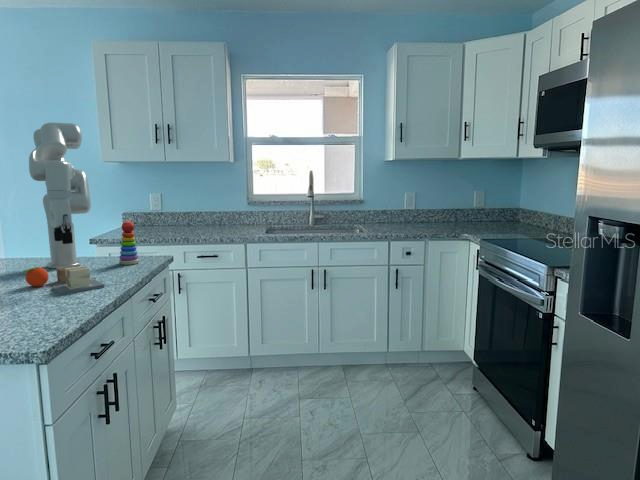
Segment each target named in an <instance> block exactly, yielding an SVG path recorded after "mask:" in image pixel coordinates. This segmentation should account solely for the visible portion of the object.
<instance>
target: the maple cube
mask: <svg viewBox="0 0 640 480" xmlns="http://www.w3.org/2000/svg"><path fill="white" fill-rule="evenodd" d="M65 275H66V283H65V284H66V285H67V286H69V287H70V288H77V287H83V286H89V285H90V280H91V278H90V275H91V274H90V268H89V267H87V266H85V265H79V266H75V267H71V268H65Z"/></svg>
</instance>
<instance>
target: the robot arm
mask: <svg viewBox="0 0 640 480" xmlns="http://www.w3.org/2000/svg"><path fill="white" fill-rule="evenodd" d="M82 137H83V136H82V130H81V128H80V126H78V125H77V124H76V123H70V122H69V123H68V122H45V123H44V124H42V125H41V127H40V128H38V129H35V131H33V141H34V143H33V144H34V145H35V148H34V149H33V150H32V151H31V152H30V154H29V156H28V171H29V175H30V177H31V178H32V180H34V181H36V182H44V183H45V186H46V194H44V196H43V197H42V205H43V209H44V212H45V217H46V224H47V231H48V232H47V233H48V243H49V244H48V245H49V254H50V262H49V263H47V265H46V267H47V268H49V269H55V270H56V269H57V268H64V267H79V266H81V264H82V262H81V260H78V259H77V250H76V237H75V236H76V235H75V226H74V223H73V218H72V215H79V214H81V215H82V214H87V213H89V212H90V211H91V208H92V203H91V197H90V196H91V193H90V188H89V181H88V180H89V179H88V176H87V174H86V172H85V171H84V170H82V169H76V168H75V167H74V165H73V164H72V163H71V162H70V161H66V159H65V157H64V156H65V155H66V154H67V151H68V150H77V149H79V148H80V147H81V144H82V140H83V138H82Z"/></svg>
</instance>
